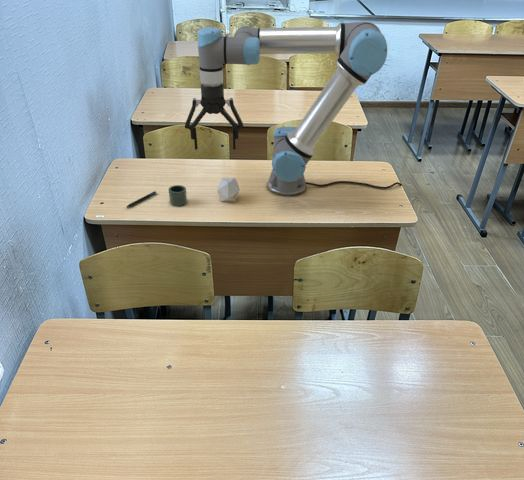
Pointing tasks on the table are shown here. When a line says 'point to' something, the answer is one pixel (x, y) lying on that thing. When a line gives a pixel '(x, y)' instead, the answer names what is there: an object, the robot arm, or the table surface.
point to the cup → (177, 195)
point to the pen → (141, 199)
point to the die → (228, 189)
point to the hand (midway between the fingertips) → (215, 148)
